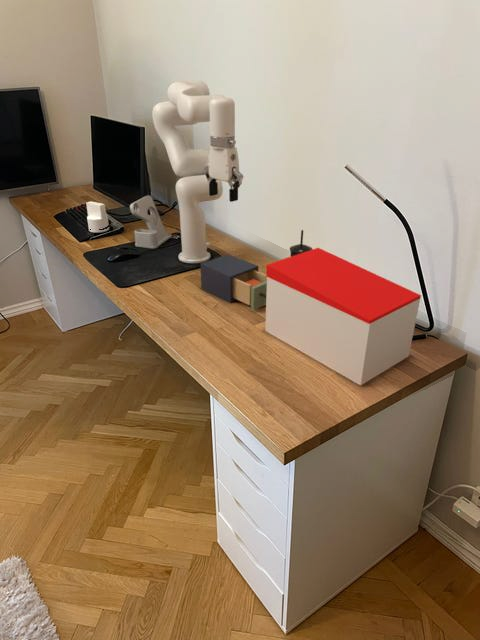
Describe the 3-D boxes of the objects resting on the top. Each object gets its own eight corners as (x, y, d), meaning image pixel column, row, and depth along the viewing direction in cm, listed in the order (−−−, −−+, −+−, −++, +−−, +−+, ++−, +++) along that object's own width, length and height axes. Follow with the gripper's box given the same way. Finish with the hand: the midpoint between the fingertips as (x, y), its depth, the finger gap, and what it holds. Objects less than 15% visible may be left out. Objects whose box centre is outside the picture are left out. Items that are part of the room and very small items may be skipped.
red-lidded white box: (312, 309, 155) (317, 247, 144) (408, 356, 131) (422, 285, 121) (264, 330, 143) (266, 264, 133) (360, 385, 119) (371, 310, 109)
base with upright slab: (113, 228, 225) (109, 202, 219) (99, 233, 218) (95, 207, 212) (99, 225, 229) (95, 199, 223) (84, 230, 222) (80, 204, 216)
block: (243, 294, 159) (243, 282, 157) (253, 290, 162) (253, 278, 160) (252, 299, 156) (253, 286, 154) (262, 295, 159) (262, 282, 157)
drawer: (291, 304, 156) (292, 283, 152) (266, 316, 149) (267, 294, 145) (249, 285, 168) (249, 265, 164) (224, 296, 161) (224, 275, 157)
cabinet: (258, 291, 166) (258, 265, 162) (230, 302, 159) (230, 276, 154) (228, 278, 176) (228, 254, 171) (201, 288, 168) (200, 263, 164)
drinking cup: (295, 291, 166) (299, 235, 156) (283, 283, 172) (286, 228, 162) (314, 287, 169) (318, 232, 159) (301, 279, 175) (305, 225, 165)
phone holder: (154, 249, 202) (150, 206, 193) (133, 246, 204) (128, 203, 196) (172, 235, 216) (170, 195, 207) (152, 233, 219) (148, 193, 210)
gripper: (251, 144, 146) (250, 201, 154) (213, 137, 157) (214, 191, 165) (232, 147, 141) (233, 205, 150) (195, 140, 152) (197, 194, 160)
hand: (223, 197), depth 157 cm, fingers open, 9 cm apart
